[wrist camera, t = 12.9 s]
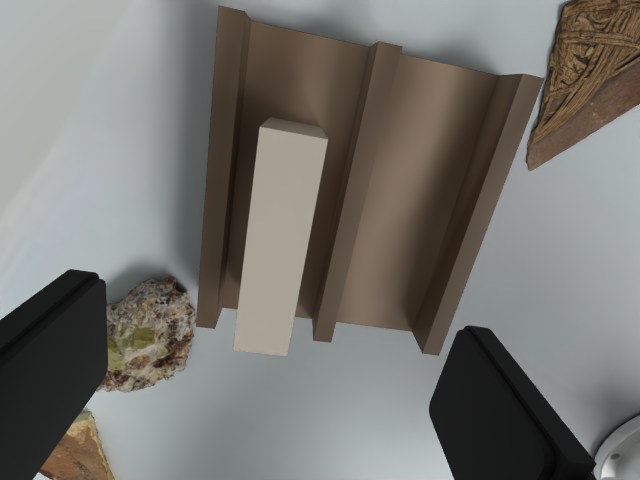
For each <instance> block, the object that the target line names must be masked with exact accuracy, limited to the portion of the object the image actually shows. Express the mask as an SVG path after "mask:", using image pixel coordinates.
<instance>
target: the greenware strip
mask: <svg viewBox="0 0 640 480" xmlns="http://www.w3.org/2000/svg"><path fill="white" fill-rule="evenodd" d="M327 143H328V139H327V137H326V135H325V133H324V132H323V130H322V128H321V127H319V126H314V125H308V124H303V123H298V122H293V121H288V120H282V119H277V118H272V117H270V118H269V119H268V120H266V121H265V122H264V123H263V124H262V125H261V126H260V129H259V137H258V145H257V154H256V162H255V170H254V179H253V187H252V195H251V204H250V212H249V220H248V228H247V237H246V245H245V253H244V262H243V270H242V278H241V287H240V295H239V303H238V312H237V320H236V328H235V337H234V345H233V350H234V351H243V352H251V353H260V354H269V355H278V356H287V353H288V348H289V343H290V338H291V332H292V327H293V322H294V316H295V311H296V306H297V301H298V295H299V290H300V285H301V280H302V274H303V269H304V264H305V258H306V253H307V248H308V243H309V237H310V232H311V227H312V222H313V216H314V211H315V206H316V201H317V195H318V190H319V185H320V179H321V174H322V169H323V164H324V158H325V153H326V148H327Z"/></svg>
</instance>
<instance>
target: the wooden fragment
mask: <svg viewBox="0 0 640 480" xmlns="http://www.w3.org/2000/svg"><path fill="white" fill-rule="evenodd" d="M547 69H548V70H549V76H548V78H547V80H546V83H545V88H544V96H543V102H542V105H541V111H540V114H539V117H538V126H537V128H536V129H535V130H533V131H532V133H531V136H530V139H529V140H528V144H527V146H528V148H527V158H526V163H527V165H528V170H529V171H531V170H533V169H535V168H537V167H539V166H540V165H542V164H543V163H545V162H546V161H548V160H550V159H551V158H553V157H554V156H556V155H558V154H559V153H561V152H563V151H564V150H566V149H568V148H569V147H571V146H573V145H574V144H576V143H578V142H579V141H580V140H582V139H584V138H586V137H587V136H589V135H590V134H592V133H593V132H595V131H597V130H598V129H600V128H601V127H603V126H604V125H606V124H608V123H609V122H611V121H613V120H614V119H616V118H617V117H619V116H620V115H622V114H624V113H625V112H627V111H629V110H630V109H632V108H633V107H635V106H637V105H639V104H640V0H574V1H572V2H569V3H567V4H566V5H565V6H564V8H563V11H562V14H561V18H560V20H559V23H558V25H557V27H556V32H555V43H554V46H553V49H552V51H551V54H550V59H549V64H548V68H547Z"/></svg>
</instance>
